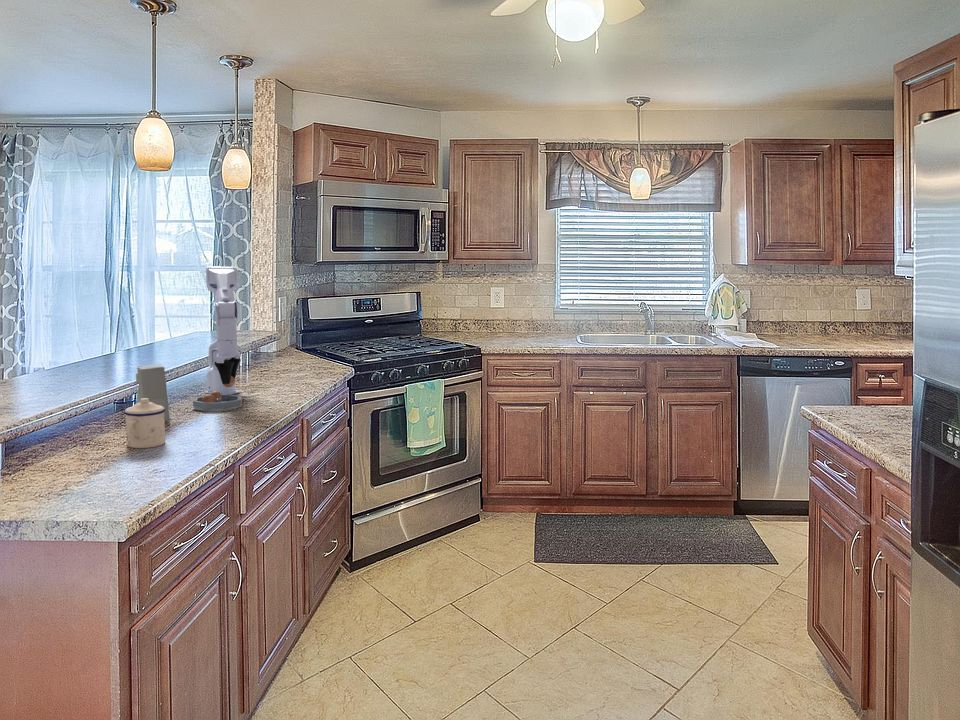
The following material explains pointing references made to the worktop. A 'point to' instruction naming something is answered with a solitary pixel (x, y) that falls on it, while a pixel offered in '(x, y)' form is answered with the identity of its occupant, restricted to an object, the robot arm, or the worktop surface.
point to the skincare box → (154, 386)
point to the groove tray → (218, 403)
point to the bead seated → (208, 398)
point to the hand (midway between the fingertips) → (228, 382)
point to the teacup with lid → (145, 425)
